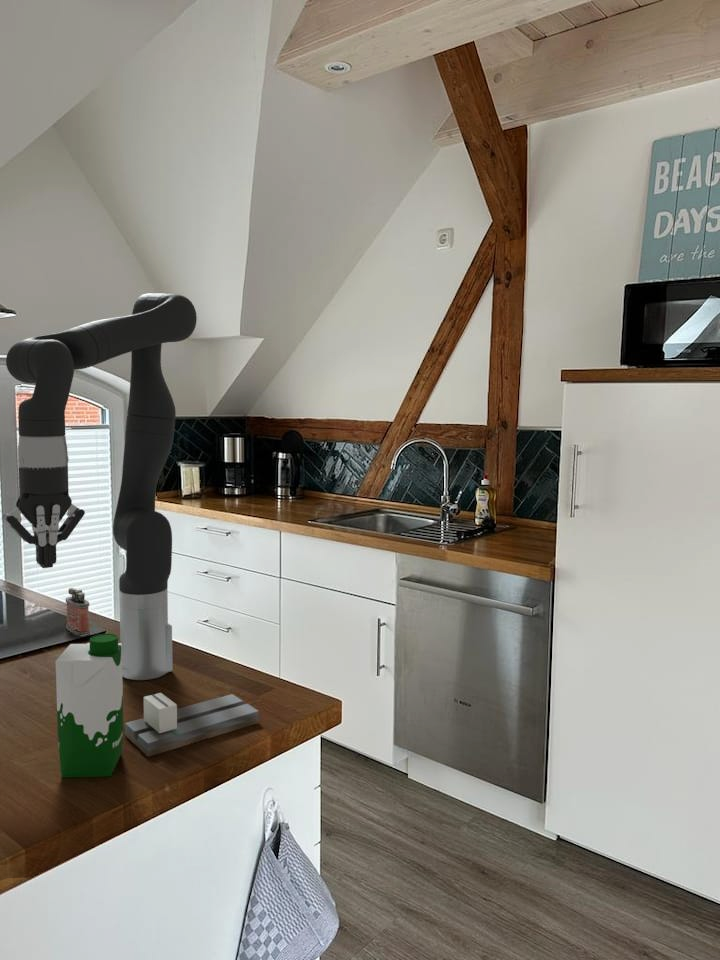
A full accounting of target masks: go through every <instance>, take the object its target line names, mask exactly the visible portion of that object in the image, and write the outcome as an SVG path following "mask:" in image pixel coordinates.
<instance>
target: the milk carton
mask: <svg viewBox="0 0 720 960" xmlns="http://www.w3.org/2000/svg"><path fill="white" fill-rule="evenodd" d="M54 662H55V663H54V664H55V678H56V679H55V680H56V682H55V684H56V688H55V689H56V715H57V716H56V719H57V721H56V723H57V744H58V746H57V747H58V753H59V754H58V755H59V765H60V766H59V767H60V773H61V777H60V778H65V779H67V778H101V777H102V778H103V777H104V778H105V777H106V778H109V777H112V775H113V773H114V770H115V768H116V766H117V764H118V762H119V760H120V758H121V755H122V753H123V752H122V751H123V750H122V749H123V738H124V737H123V736H124V695H123V694H124V693H123V687H124V686H123V676H122V643H120V642H119V636H118V635H117V634H113V633H101V634H96V635H95V634H94V635H93V636H91V637H90V638H89V642H86V643H70V644H69V645H68V646H67V647H66V649H65V650H64V651H63V652H62V653H61V654H60V655H59V657H57V658H56V660H55V661H54Z"/></svg>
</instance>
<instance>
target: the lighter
mask: <svg viewBox="0 0 720 960" xmlns="http://www.w3.org/2000/svg"><path fill="white" fill-rule="evenodd" d="M68 595H70V596H67V597H66V598H65V603H66V626H65V627H66V628H67V629H68V630H69V631H70V632H73V633H76V634H79V635H85V634H88V633H90V634H91V630H90V621H89V620H90V619H89V618H90V617H89V616H90V614H89V612H90V611H89V607H90V602H89V601H88V600H87V599H86V597H85V596H86V595H85V592H83V590H82V589H76V588H74V587H69V589H68ZM66 628H65V629H66ZM70 632H69V633H70Z"/></svg>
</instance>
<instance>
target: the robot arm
mask: <svg viewBox="0 0 720 960" xmlns="http://www.w3.org/2000/svg"><path fill="white" fill-rule="evenodd" d="M197 319H198V318H197V312H196V308H195V306H194V304H193V302H192V301H191V300H190V299H189V298H187V297H186V296H183V295H181V294H176V293H160V292H159V293H156V292H155V293H153V292H150V293H144V294H141V295H140V296H139V297H138V298H137V299H136V300H135V302H134V304H133V308H132V313H131V314H130V315H124V316H117V317H110V318H105V319H104V318H103V319H98V320H94V321H90V322H87V323H84V324H80V325H78V326H75V327H71V328H68V329H66V330H62V331H60V332H56V333H47V334H44V335H43V334H42V335H38V336H37V335H36V336H32V337H28V338H26V339H25V338H24V339H22V340H19V341H18V342H16V343H15V344H13V345H12V346H11V347H10V348H9V350H8V351H7V354H6V359H5V366H6V369H7V371H8V372H9V374H10V375H11V377H13V378H14V379H15V380H17V381H19V382H20V383H25V384H32V385H34V390H33V393H32V396H31V398H28V399H25V400H22V401H21V402H20V403H19V405H18V411H17V413H18V415H17V416H18V418H17V419H18V420H17V422H18V445H17V467H18V468H17V471H18V495H19V496H18V499H17V501H16V505H15V508H13V509H12V510H10V512H9V513H5V514H3V516H2V519H3V521H4V522H6V524H7V525H9V527H10V528H11V529H12V530H13V531H14V532H15V533H16V534H17V535H18V536H19V537H20V539H22V541H24V542H25V543H27V544H29V545H34V546H35V561H36V563H37V564H38V566H39V567H41V568H42V569H48V568H53V566H54V565H55V564H56V562H57V545H58V543H59V542H62V541H66V540H67V539H68V538H69V537H70V535H72V532H74V530H75V528H76V527H77V526H78V524H79V523H80V522H81V520H82V518H84V516H85V514H86V512H85V510H84V509H82V508H79V507H77V506H76V505H74V504H73V501H72V498H71V497H70V495H69V494H70V493H69V455H68V444H67V440H66V439H67V438H66V415H65V413H66V407H67V404H68V400H69V397H70V393H71V388H72V383H73V379H74V373H75V370H77V371H78V370H85V369H88V368H91V367H94V366H96V365H98V364H101V363H103V362H106V361H108V360H111V359H114V358H116V357H119V356H122V355H124V354H128V353H131V359H130V361H131V362H130V363H131V364H130V366H131V367H130V382H129V393H128V394H129V396H128V405H127V411H126V423H125V432H124V433H125V435H124V436H125V437H124V447H123V456H122V457H123V458H122V471H121V472H122V473H121V481H120V483H121V484H120V490H119V494H118V498H117V499H118V500H117V504H116V507H115V513H114V519H113V524H112V534H113V539H114V541H115V542H116V544H117V545H118V546H119V547H120V548H121V549H123V550H124V551H126V553H125V554H126V558H125V559H126V561H125V564H126V565H125V571H124V572H123V573H122V574H120V576H119V581H118V589H119V591H118V592H119V635H120V636H119V638H120V639H119V640H120V641H119V643H122V678H124V679H127V680H132V681H145V680H146V681H147V680H154V679H157V678H160V677H162V676H165V675H166V674H168V673H170V672H173V626H172V625H171V624H170V623H169V614H168V613H169V610H168V609H169V608H168V607H169V604H168V597H169V596H168V583H169V579H170V575H171V572H172V562H173V561H172V560H173V559H172V556H173V533H172V532H173V531H172V527H171V524H170V520H169V519H168V518H167V517H166V516H165V515H164V514H162V513H161V512H158V511H156V495H157V485H158V481H159V478H160V476H161V473H162V472H163V471H162V470H163V469H164V466H165V465H166V463H167V460H168V458H169V455H170V453H171V451H172V448H173V442H174V437H175V427H176V415H177V414H176V413H177V412H176V407H175V402H174V399H173V396H172V395H171V391H170V389H169V387H168V385H167V384H168V383H166V380H165V377H164V374H163V370H162V363H161V362H162V360H161V359H162V347H163V346H162V344H166V343H177V342H181V341H182V342H183V341H185V340H187V339H189V338H190V337H191V335H192V334H193V333H194V331H195V329H196V326H197ZM21 515H22V516H23V517H24V518H25V520H27V521H28V523H30V524H31V530H32V533H33V535H32V534H31V533H30V532H29V530H27V528H25V527H24V525H23V524H21V522H22V521H23V517H22V516H21ZM65 515H67V518H65V520H64V521H63V523H62V524H61V526H60V522H61V521H62V519H63V518H64V516H65Z"/></svg>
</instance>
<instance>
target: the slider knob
mask: <svg viewBox="0 0 720 960" xmlns="http://www.w3.org/2000/svg"><path fill="white" fill-rule="evenodd" d="M177 709H178V704H177V703H176V702H174V701H172V700H171V699H170V698H169V697H167V696H166V695H165V694H163V693H162V692H157V693H155V694H154V693H153V694H150V695H145V696H143V718H144V721H145V722H147V723H148V724H149V725H150V726H151V727H152V728H154V729H155V730H156V731H157V732H158V733H163V732H166V731H170V730H173V729H177Z"/></svg>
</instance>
